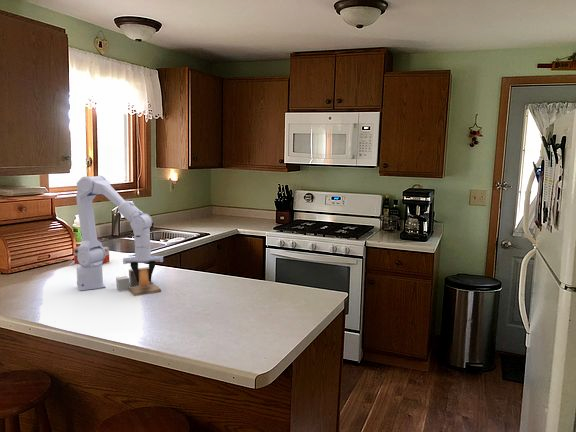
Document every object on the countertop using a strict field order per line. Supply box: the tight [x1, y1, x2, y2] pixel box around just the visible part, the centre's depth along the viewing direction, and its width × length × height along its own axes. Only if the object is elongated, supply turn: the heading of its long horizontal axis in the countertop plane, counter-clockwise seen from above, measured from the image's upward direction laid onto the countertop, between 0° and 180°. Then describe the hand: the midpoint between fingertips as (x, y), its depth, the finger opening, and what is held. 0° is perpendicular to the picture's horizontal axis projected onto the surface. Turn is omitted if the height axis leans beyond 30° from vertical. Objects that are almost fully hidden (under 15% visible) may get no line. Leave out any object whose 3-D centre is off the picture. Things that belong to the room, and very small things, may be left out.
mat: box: [128, 283, 162, 297], centre depth 183 cm, size 10×9×1 cm
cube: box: [115, 275, 130, 292], centre depth 186 cm, size 4×4×4 cm
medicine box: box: [73, 246, 110, 265], centre depth 233 cm, size 15×8×8 cm, turn 69°
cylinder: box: [138, 267, 151, 286], centre depth 183 cm, size 4×4×6 cm
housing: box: [128, 266, 154, 287], centre depth 193 cm, size 9×4×6 cm, turn 120°
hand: (144, 281), depth 183 cm, fingers closed on cylinder, 4 cm apart
